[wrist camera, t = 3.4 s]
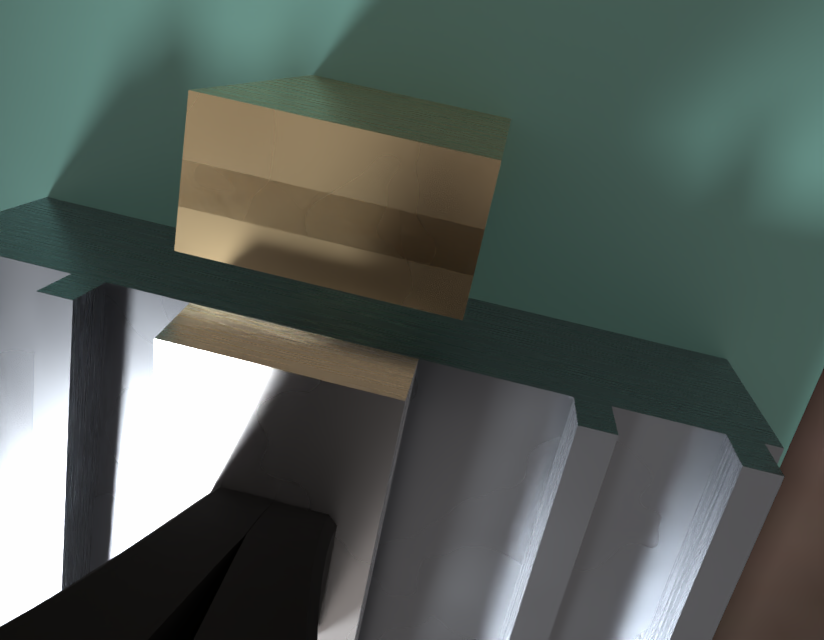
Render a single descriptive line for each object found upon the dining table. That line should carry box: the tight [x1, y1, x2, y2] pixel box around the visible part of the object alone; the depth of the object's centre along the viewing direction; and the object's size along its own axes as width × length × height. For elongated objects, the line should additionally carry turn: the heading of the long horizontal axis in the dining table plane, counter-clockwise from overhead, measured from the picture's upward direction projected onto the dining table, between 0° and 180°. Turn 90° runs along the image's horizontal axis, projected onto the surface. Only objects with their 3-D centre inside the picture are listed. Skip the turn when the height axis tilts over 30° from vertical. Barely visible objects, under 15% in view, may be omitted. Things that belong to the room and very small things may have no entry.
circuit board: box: [0, 0, 824, 468], centre depth 15 cm, size 15×24×1 cm, turn 169°
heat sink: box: [0, 75, 785, 640], centre depth 13 cm, size 12×17×5 cm
